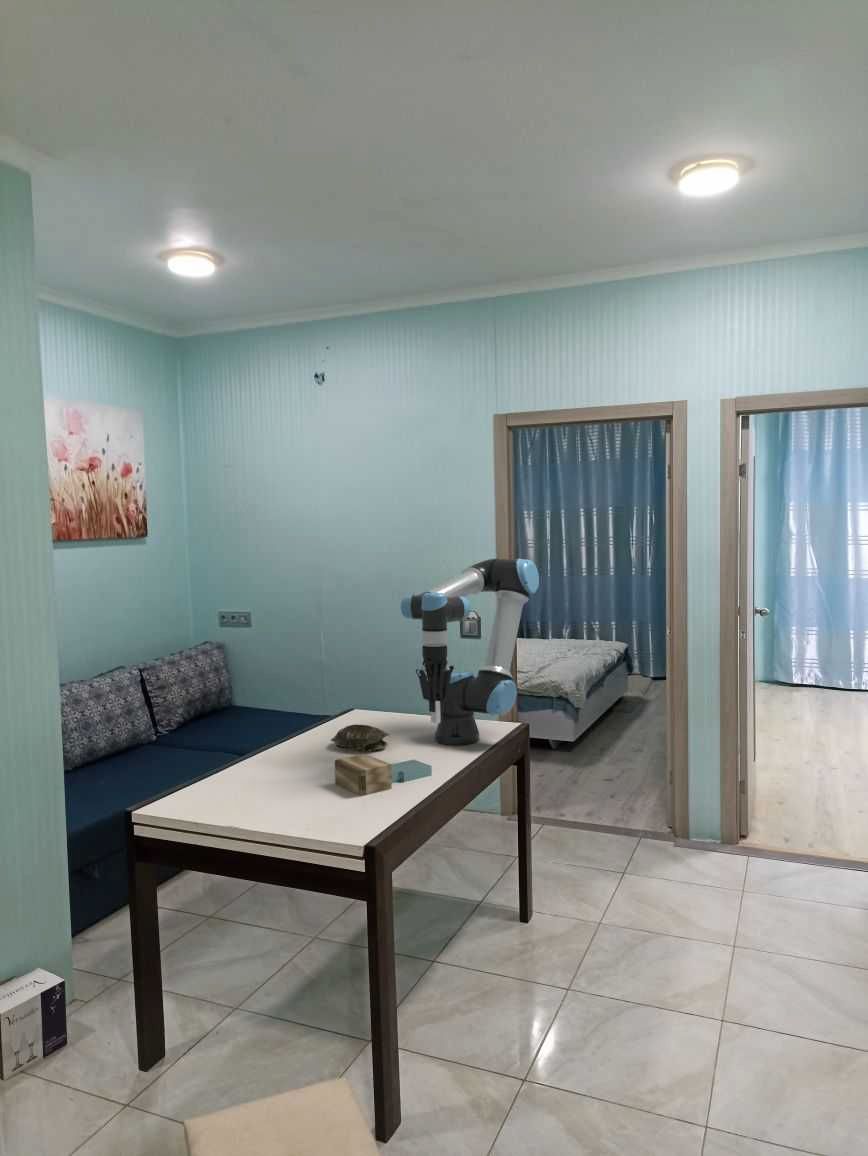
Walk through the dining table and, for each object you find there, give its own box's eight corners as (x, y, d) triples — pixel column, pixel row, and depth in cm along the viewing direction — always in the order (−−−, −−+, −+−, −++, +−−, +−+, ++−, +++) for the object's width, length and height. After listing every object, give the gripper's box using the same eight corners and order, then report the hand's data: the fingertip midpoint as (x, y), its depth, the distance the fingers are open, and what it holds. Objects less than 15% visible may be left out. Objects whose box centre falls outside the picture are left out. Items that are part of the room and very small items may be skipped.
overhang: (364, 777, 253) (364, 753, 253) (391, 788, 242) (391, 764, 242) (335, 783, 247) (334, 760, 247) (361, 796, 236) (361, 771, 236)
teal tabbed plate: (413, 769, 261) (413, 759, 261) (431, 775, 254) (431, 765, 254) (375, 778, 253) (375, 768, 252) (392, 785, 246) (392, 775, 245)
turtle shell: (347, 722, 299) (395, 716, 289) (351, 747, 298) (400, 743, 289) (319, 731, 285) (368, 726, 275) (323, 758, 284) (373, 754, 275)
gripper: (444, 641, 265) (445, 716, 266) (409, 645, 257) (410, 723, 259) (459, 643, 259) (460, 721, 261) (424, 647, 251) (425, 727, 253)
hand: (435, 722), depth 260 cm, fingers closed
